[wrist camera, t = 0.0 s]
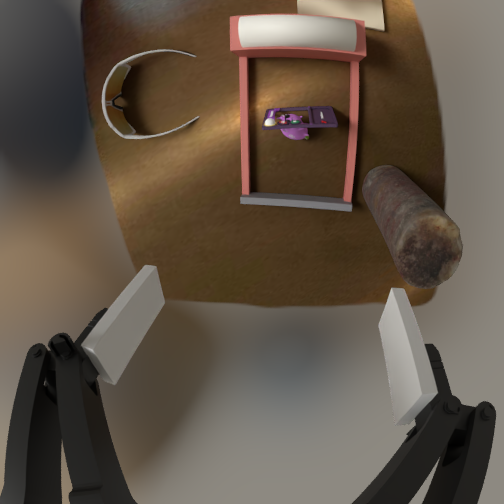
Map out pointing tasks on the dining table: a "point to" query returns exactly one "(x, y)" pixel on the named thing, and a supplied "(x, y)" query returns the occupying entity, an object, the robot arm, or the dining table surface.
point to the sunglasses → (114, 91)
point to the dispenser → (298, 46)
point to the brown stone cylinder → (413, 227)
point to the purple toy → (299, 121)
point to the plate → (346, 10)
